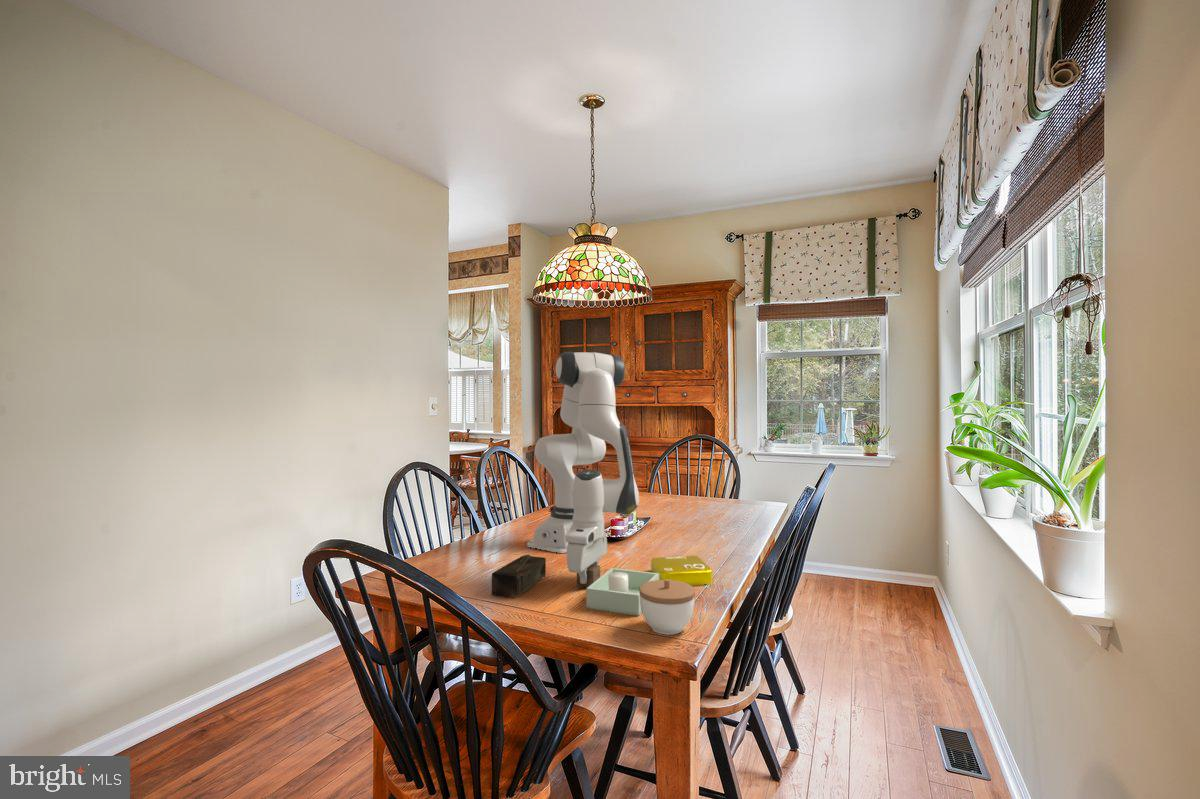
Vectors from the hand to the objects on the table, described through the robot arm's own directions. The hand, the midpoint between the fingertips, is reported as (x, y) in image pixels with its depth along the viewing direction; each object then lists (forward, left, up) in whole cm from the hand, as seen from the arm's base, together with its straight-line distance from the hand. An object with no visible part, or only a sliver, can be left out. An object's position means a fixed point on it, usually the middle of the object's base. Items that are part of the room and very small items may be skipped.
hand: (588, 579), depth 162 cm
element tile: (+22, +16, -2) cm, 27 cm away
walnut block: (0, 0, -2) cm, 2 cm away
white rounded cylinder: (+13, -11, -1) cm, 17 cm away
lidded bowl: (+28, -20, -2) cm, 34 cm away
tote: (+13, -7, -2) cm, 15 cm away
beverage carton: (-18, -7, -2) cm, 19 cm away
